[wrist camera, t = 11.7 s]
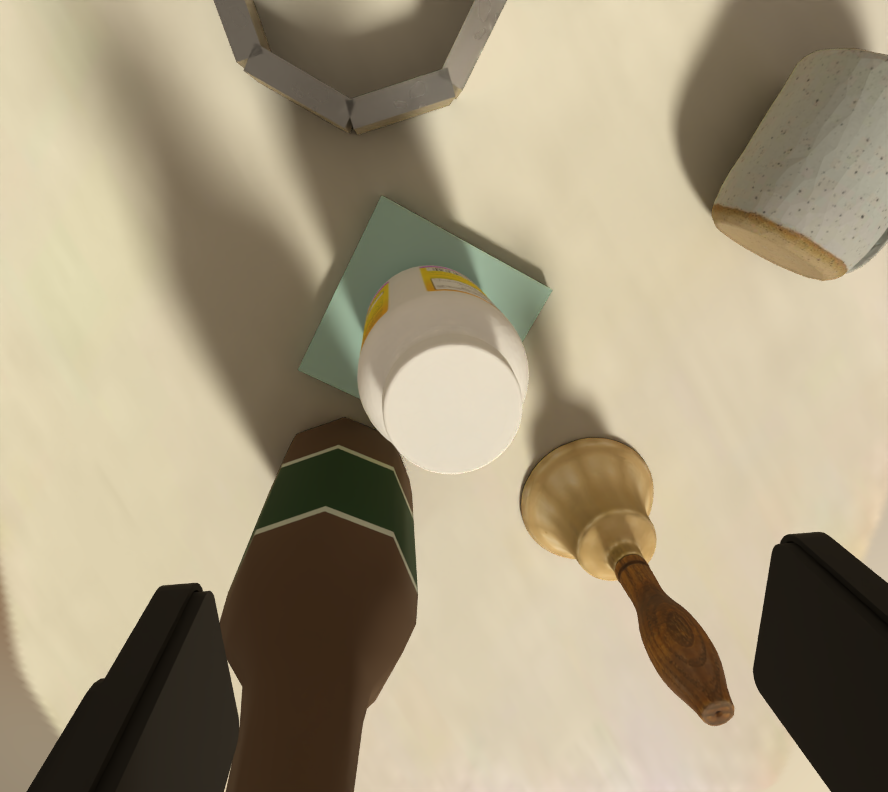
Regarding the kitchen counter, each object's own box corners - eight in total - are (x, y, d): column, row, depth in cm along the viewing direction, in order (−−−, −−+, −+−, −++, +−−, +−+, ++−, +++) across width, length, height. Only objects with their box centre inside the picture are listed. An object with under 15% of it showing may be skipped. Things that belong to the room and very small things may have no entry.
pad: (381, 195, 31) (381, 195, 30) (548, 287, 33) (552, 289, 32) (300, 364, 33) (297, 369, 32) (459, 439, 35) (461, 446, 34)
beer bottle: (248, 472, 35) (-19, 996, 12) (346, 385, 34) (248, 792, 11) (343, 555, 37) (265, 1126, 15) (437, 477, 36) (512, 968, 13)
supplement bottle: (392, 403, 33) (393, 528, 21) (345, 290, 31) (315, 356, 19) (507, 361, 33) (575, 462, 21) (468, 244, 31) (518, 280, 19)
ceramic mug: (675, 214, 32) (760, 224, 25) (767, 61, 30) (889, 23, 23) (822, 302, 35) (938, 335, 27) (917, 167, 32) (1069, 163, 25)
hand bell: (678, 495, 38) (867, 699, 23) (579, 579, 39) (695, 822, 24) (595, 409, 35) (743, 573, 20) (492, 502, 37) (561, 719, 22)
